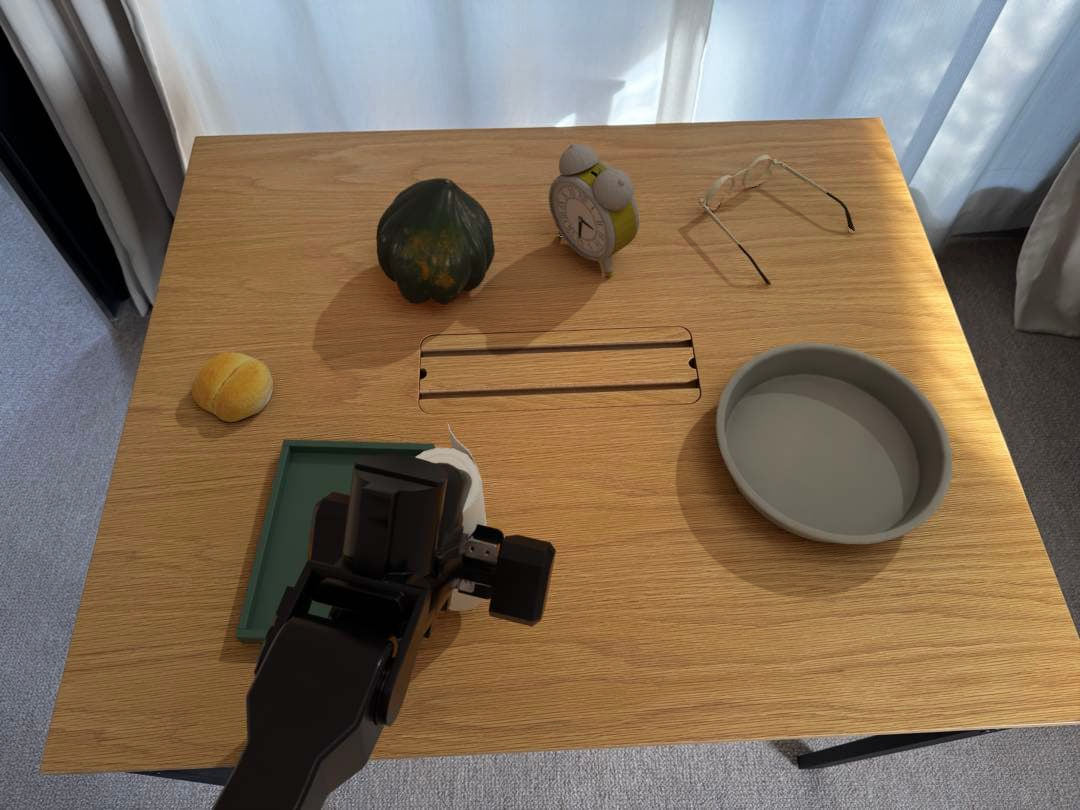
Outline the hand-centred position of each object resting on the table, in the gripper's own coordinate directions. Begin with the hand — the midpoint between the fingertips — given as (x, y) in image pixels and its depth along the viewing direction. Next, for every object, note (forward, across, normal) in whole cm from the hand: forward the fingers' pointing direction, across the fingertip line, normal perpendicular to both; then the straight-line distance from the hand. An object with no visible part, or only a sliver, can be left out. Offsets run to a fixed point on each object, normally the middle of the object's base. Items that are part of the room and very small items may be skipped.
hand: (459, 520), depth 67 cm
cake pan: (+25, -34, -7) cm, 43 cm away
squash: (+36, +16, -18) cm, 43 cm away
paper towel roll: (+6, 0, +8) cm, 10 cm away
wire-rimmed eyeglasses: (+49, -25, -31) cm, 63 cm away
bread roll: (+20, +33, -1) cm, 39 cm away
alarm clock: (+42, -3, -24) cm, 49 cm away
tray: (+10, +14, +9) cm, 19 cm away
